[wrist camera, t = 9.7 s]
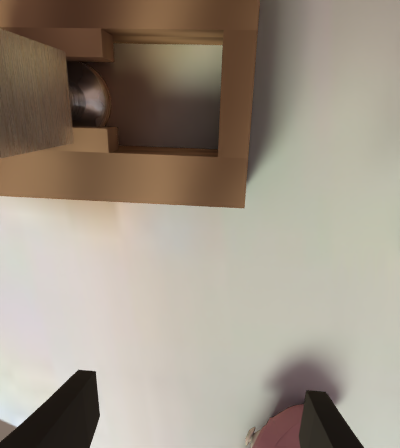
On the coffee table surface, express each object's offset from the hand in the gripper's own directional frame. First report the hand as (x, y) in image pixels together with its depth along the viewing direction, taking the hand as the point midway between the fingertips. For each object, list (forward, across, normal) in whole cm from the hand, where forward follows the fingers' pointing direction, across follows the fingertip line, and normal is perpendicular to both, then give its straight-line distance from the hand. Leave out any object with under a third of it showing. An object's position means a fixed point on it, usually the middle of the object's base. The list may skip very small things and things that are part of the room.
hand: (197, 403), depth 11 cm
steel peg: (+10, +8, -10) cm, 16 cm away
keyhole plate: (+10, +6, -10) cm, 15 cm away
